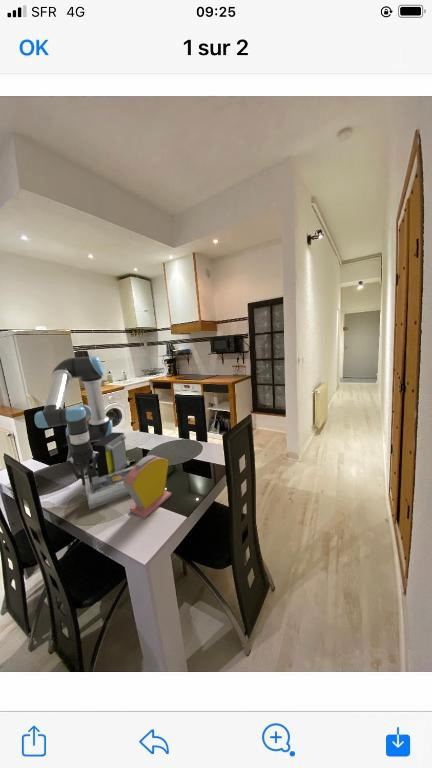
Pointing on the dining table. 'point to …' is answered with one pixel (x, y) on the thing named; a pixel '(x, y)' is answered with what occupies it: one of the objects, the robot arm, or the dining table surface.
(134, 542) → the dining table surface
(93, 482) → the grey slider block
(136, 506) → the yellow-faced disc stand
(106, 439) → the electrical component
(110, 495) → the rail slide plate
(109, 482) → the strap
